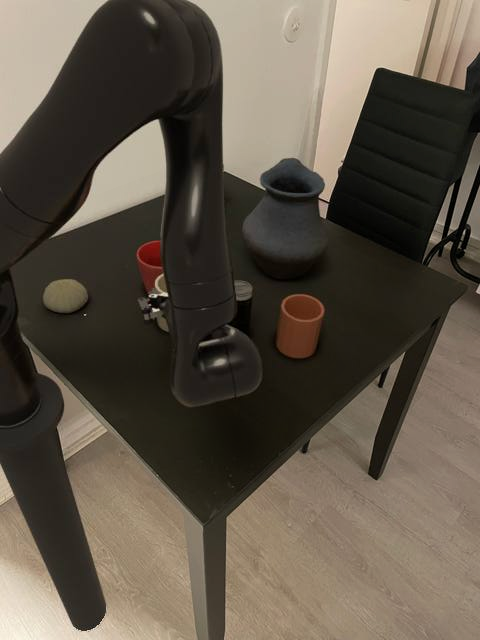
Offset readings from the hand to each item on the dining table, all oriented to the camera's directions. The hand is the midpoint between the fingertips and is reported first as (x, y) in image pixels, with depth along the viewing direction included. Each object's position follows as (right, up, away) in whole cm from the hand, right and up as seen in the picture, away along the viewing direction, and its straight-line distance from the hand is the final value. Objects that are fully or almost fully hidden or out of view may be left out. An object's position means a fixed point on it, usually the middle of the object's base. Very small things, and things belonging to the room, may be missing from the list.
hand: (179, 287), depth 86 cm
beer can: (+10, -8, +21) cm, 24 cm away
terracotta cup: (+22, -11, +19) cm, 31 cm away
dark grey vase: (+21, +8, +40) cm, 46 cm away
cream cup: (-3, -6, +22) cm, 23 cm away
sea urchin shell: (-28, -2, +24) cm, 37 cm away
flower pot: (-7, +2, +30) cm, 31 cm away
